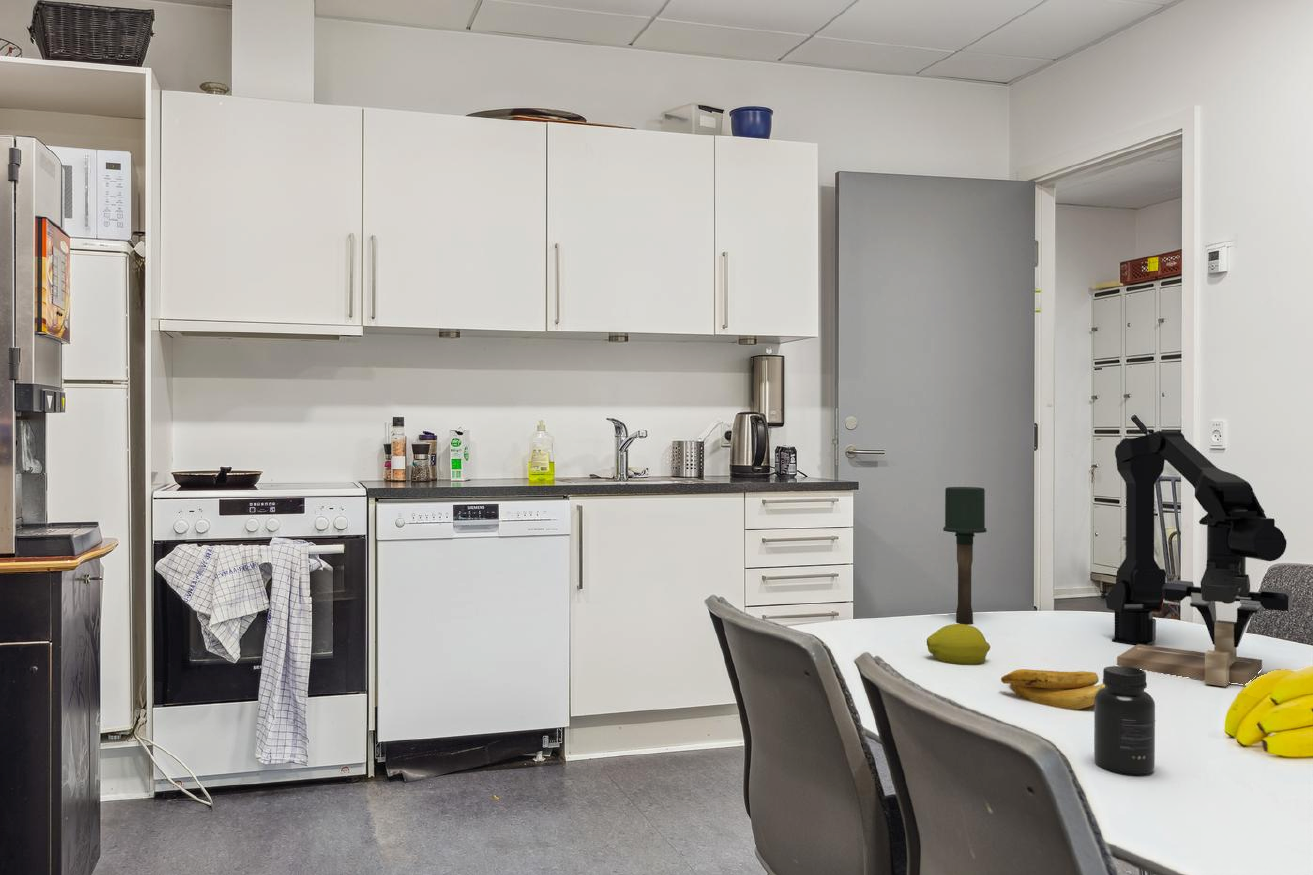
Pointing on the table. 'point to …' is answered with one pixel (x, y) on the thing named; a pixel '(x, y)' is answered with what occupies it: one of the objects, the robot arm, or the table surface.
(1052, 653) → the table surface
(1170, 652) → the board
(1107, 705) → the supplement bottle
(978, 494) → the potato masher grenade
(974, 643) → the lemon
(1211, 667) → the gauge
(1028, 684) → the banana
